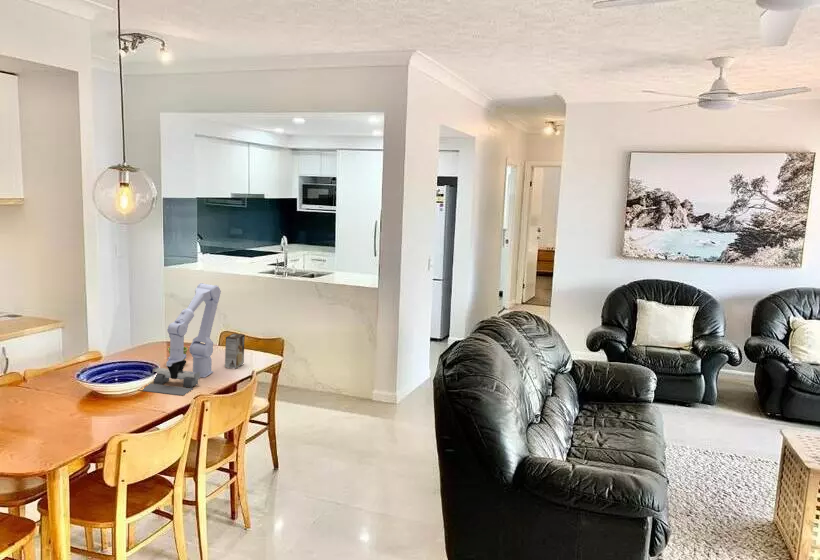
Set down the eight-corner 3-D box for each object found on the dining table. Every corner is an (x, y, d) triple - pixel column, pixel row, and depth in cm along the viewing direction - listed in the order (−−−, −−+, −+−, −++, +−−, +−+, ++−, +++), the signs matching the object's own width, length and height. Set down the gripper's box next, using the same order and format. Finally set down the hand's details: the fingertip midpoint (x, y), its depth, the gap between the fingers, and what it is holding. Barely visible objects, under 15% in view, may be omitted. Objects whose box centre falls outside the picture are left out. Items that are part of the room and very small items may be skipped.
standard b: (161, 379, 280) (161, 370, 279) (169, 380, 279) (169, 371, 279) (153, 383, 274) (153, 374, 273) (162, 384, 273) (162, 375, 273)
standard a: (189, 383, 278) (189, 374, 278) (197, 383, 278) (198, 375, 277) (183, 387, 272) (183, 378, 272) (191, 388, 272) (191, 379, 271)
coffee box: (232, 363, 314) (233, 333, 311) (244, 364, 313) (245, 334, 310) (224, 367, 305) (225, 336, 302) (236, 369, 304) (237, 338, 301)
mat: (149, 384, 272) (149, 383, 272) (193, 389, 270) (193, 388, 270) (137, 390, 264) (137, 389, 263) (183, 395, 261) (183, 395, 261)
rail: (157, 373, 278) (157, 367, 278) (199, 378, 276) (199, 372, 276) (152, 376, 274) (152, 369, 274) (195, 381, 272) (195, 374, 272)
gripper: (176, 343, 281) (175, 372, 283) (160, 351, 267) (159, 381, 269) (190, 345, 280) (190, 373, 282) (175, 353, 266) (174, 382, 268)
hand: (176, 377), depth 275 cm, fingers closed on rail, 4 cm apart
